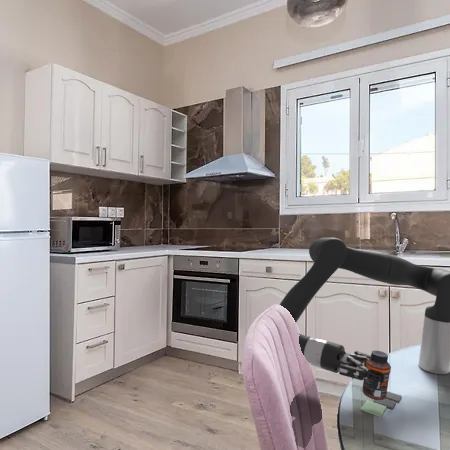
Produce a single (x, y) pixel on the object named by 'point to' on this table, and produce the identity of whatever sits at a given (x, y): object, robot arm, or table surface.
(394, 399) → the track
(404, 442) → the table surface
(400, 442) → the table surface
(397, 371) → the table surface
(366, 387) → the supplement bottle
